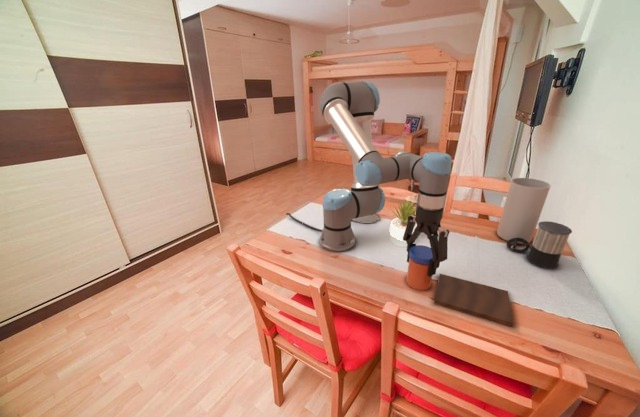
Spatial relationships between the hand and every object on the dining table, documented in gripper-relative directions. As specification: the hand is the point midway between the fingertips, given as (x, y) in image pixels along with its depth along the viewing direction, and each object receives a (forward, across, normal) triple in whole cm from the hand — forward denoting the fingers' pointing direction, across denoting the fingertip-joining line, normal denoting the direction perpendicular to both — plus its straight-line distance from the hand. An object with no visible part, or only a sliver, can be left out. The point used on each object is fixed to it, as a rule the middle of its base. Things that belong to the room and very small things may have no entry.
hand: (420, 267), depth 87 cm
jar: (+6, 0, 0) cm, 6 cm away
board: (+6, -14, -8) cm, 17 cm away
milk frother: (+6, -12, -48) cm, 50 cm away
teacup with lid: (+6, +38, -40) cm, 55 cm away
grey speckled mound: (+6, +54, -14) cm, 56 cm away
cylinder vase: (+6, -1, -58) cm, 58 cm away
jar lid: (-6, 0, 0) cm, 6 cm away
